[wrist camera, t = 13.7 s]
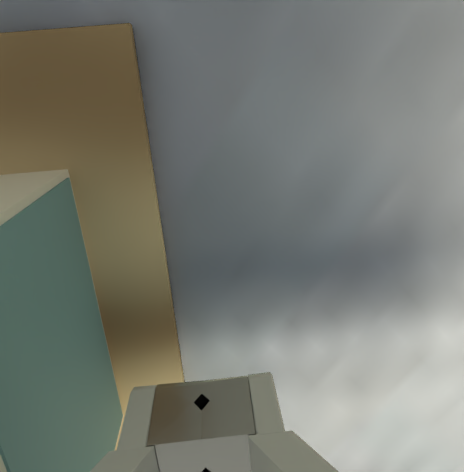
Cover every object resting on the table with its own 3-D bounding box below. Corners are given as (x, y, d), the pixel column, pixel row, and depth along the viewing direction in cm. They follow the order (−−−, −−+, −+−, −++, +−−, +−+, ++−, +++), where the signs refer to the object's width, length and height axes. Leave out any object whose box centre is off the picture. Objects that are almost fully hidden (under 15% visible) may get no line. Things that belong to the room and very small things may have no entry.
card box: (-23, 176, 11) (-278, 286, 5) (70, 168, 11) (-78, 268, 5) (53, 423, 15) (-52, 661, 9) (124, 415, 15) (69, 646, 9)
